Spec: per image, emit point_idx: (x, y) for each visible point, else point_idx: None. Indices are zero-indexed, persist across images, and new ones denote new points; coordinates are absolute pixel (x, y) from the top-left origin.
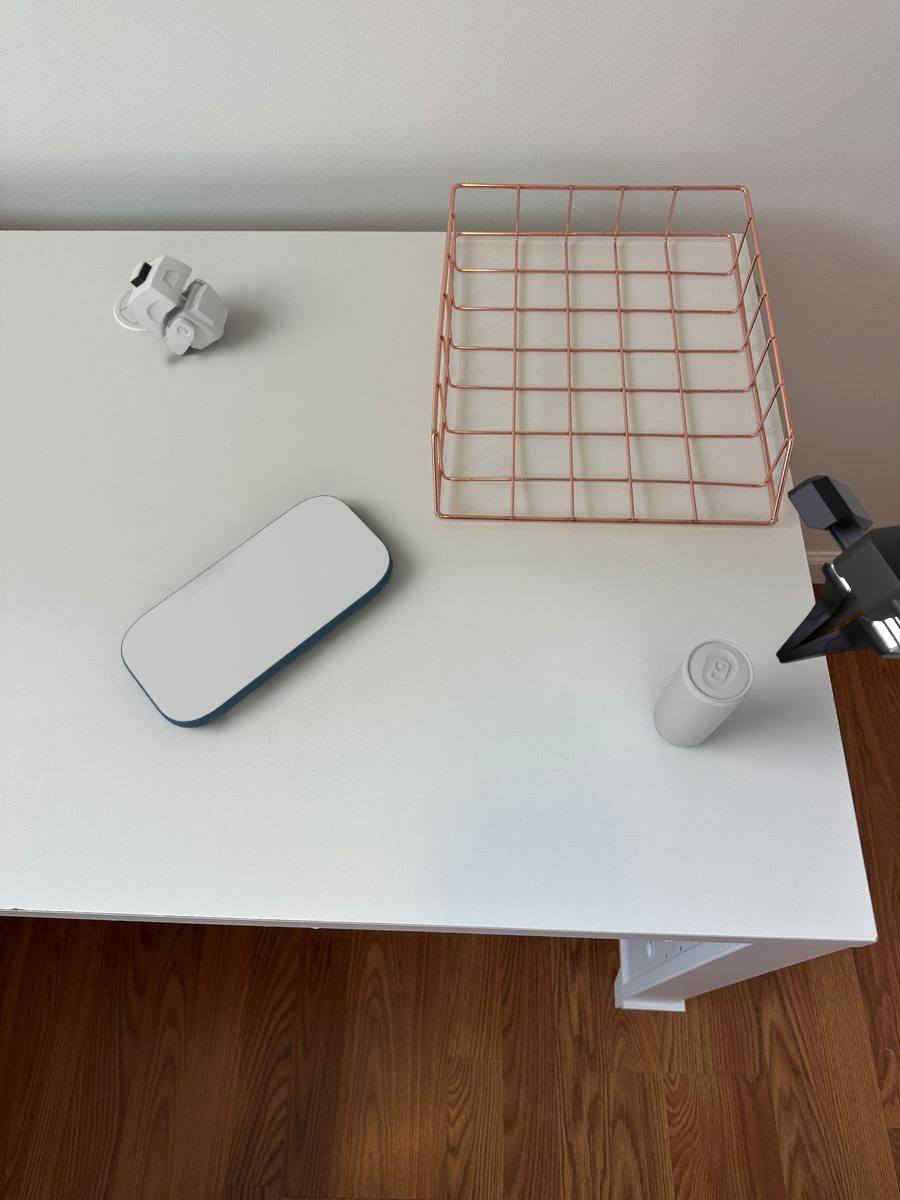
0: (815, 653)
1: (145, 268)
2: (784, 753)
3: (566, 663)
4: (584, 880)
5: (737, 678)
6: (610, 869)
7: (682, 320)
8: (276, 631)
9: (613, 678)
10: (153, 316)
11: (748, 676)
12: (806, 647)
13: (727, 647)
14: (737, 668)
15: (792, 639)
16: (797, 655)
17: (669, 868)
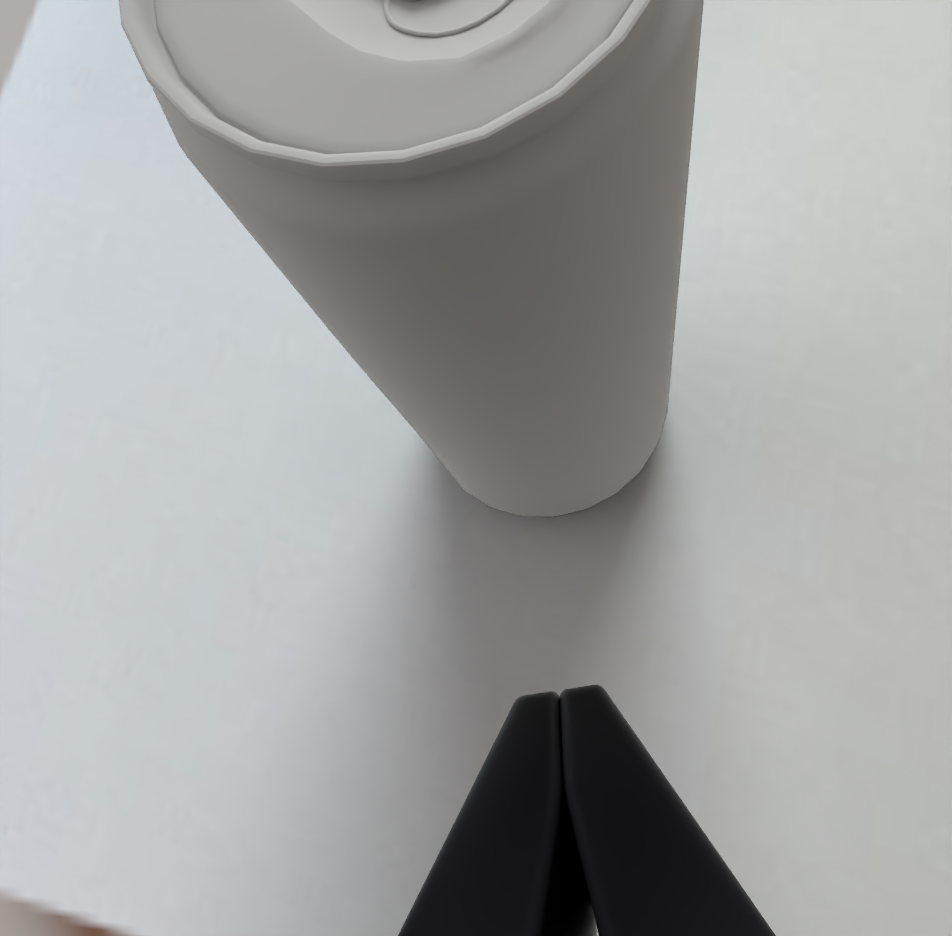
0: (411, 929)
1: None
2: (323, 770)
3: (865, 46)
4: None
5: (278, 30)
6: (142, 84)
7: None
8: None
9: (771, 200)
10: None
11: (273, 127)
12: (509, 879)
13: (584, 11)
14: (363, 48)
15: (640, 802)
16: (492, 794)
17: (89, 245)
